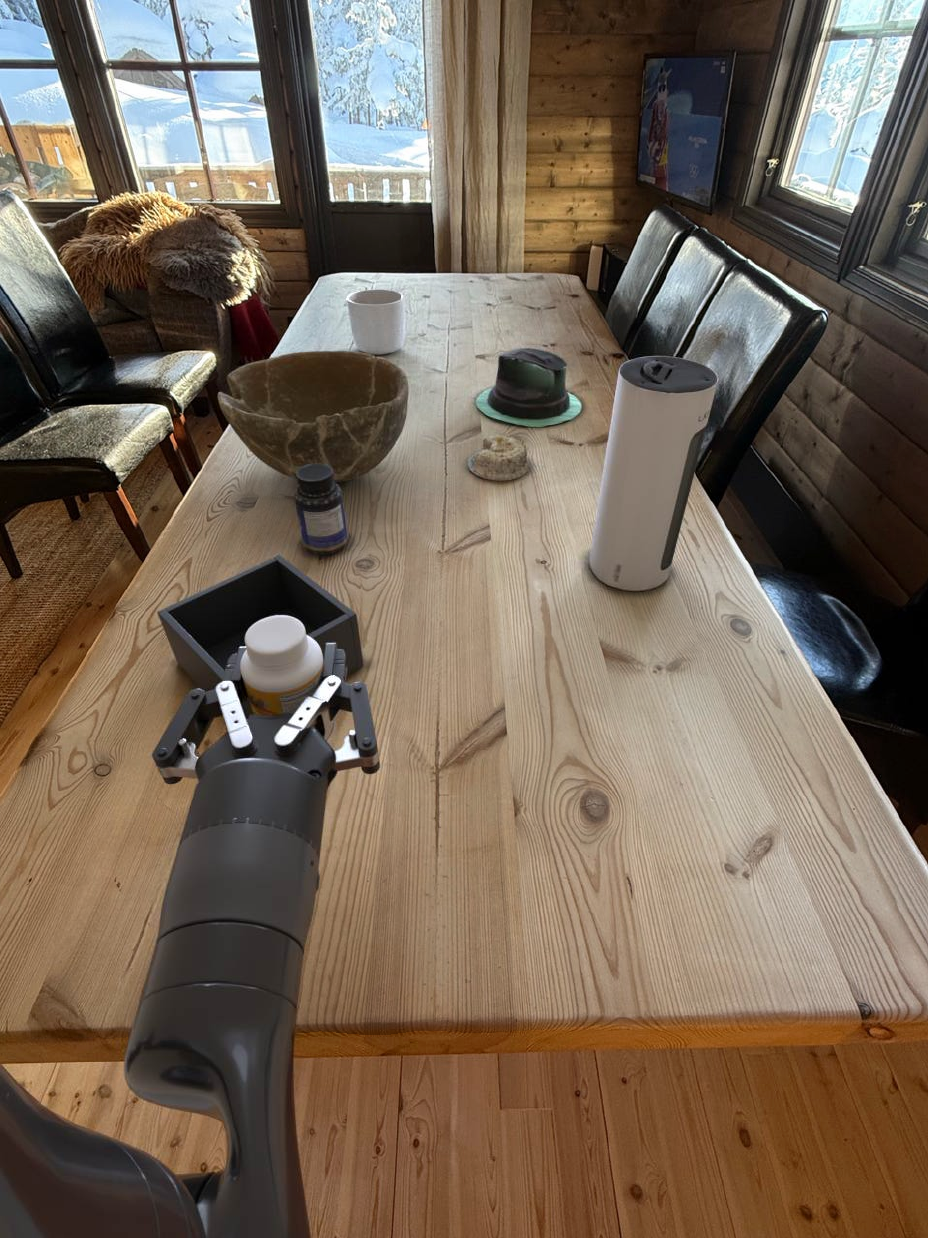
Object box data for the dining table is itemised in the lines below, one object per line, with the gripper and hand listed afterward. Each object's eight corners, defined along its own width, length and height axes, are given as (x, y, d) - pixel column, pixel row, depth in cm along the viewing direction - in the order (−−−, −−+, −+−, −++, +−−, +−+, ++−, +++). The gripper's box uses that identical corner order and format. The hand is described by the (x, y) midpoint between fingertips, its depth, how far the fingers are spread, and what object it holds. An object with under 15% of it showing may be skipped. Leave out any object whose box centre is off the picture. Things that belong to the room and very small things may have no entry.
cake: (528, 456, 111) (533, 426, 107) (527, 486, 103) (532, 455, 100) (470, 449, 111) (473, 418, 107) (464, 479, 103) (467, 447, 100)
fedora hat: (600, 390, 128) (567, 434, 115) (520, 418, 139) (481, 461, 126) (571, 314, 122) (532, 351, 108) (489, 351, 133) (445, 388, 120)
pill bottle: (309, 531, 92) (296, 459, 85) (352, 532, 92) (342, 460, 85) (299, 556, 88) (284, 483, 81) (344, 557, 88) (333, 484, 80)
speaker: (646, 604, 80) (696, 395, 63) (572, 573, 85) (599, 371, 68) (681, 563, 87) (735, 363, 70) (610, 536, 91) (644, 343, 74)
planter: (377, 362, 142) (372, 308, 135) (341, 349, 149) (334, 297, 141) (418, 348, 149) (416, 296, 142) (382, 335, 155) (378, 285, 148)
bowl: (219, 519, 95) (190, 420, 85) (257, 436, 115) (237, 349, 105) (410, 516, 95) (404, 417, 86) (415, 434, 116) (410, 346, 106)
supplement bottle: (254, 720, 51) (223, 621, 45) (323, 696, 53) (303, 597, 47) (273, 773, 47) (242, 673, 41) (346, 745, 49) (328, 645, 43)
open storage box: (245, 738, 65) (227, 686, 60) (177, 663, 73) (156, 611, 68) (363, 665, 72) (356, 613, 67) (290, 604, 80) (279, 554, 75)
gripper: (375, 820, 33) (384, 609, 46) (85, 836, 33) (176, 617, 46) (386, 892, 38) (392, 683, 51) (134, 908, 38) (204, 692, 50)
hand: (290, 653), depth 48 cm, fingers closed on supplement bottle, 5 cm apart
